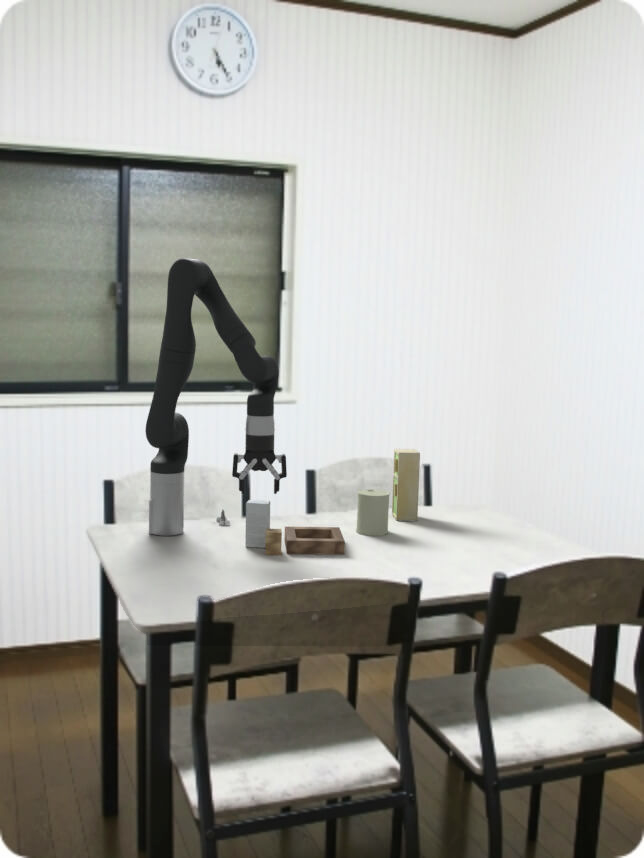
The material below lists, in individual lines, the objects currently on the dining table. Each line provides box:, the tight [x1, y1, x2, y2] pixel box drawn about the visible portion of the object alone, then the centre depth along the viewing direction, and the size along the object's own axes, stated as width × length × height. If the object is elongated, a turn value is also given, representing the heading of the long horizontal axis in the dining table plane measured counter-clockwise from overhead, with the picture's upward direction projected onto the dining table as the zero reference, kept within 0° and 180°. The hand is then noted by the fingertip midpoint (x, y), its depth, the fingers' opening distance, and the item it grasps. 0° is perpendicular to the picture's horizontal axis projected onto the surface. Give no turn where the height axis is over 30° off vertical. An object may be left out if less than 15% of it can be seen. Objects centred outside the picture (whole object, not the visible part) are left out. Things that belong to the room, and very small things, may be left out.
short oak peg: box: [264, 528, 283, 556], centre depth 239 cm, size 4×4×6 cm
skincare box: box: [244, 499, 271, 549], centre depth 245 cm, size 6×4×12 cm
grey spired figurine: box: [215, 509, 231, 526], centre depth 265 cm, size 15×7×4 cm, turn 17°
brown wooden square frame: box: [284, 526, 346, 555], centre depth 247 cm, size 15×15×4 cm
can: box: [355, 488, 390, 537], centre depth 265 cm, size 9×9×12 cm
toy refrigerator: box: [391, 448, 421, 522], centre depth 283 cm, size 8×7×21 cm
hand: (259, 493), depth 244 cm, fingers open, 8 cm apart
